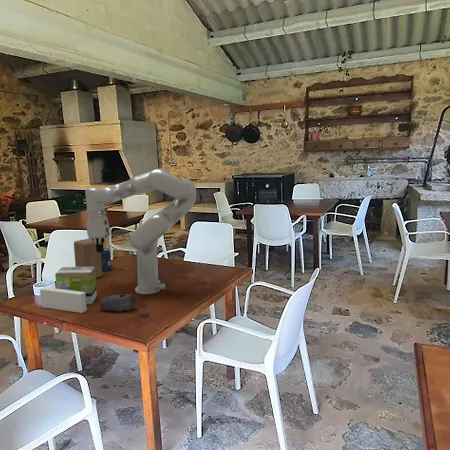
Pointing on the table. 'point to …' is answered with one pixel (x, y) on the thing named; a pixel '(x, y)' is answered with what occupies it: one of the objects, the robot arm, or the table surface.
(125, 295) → the perforated stone tool
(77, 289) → the tea box
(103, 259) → the soda can
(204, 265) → the table surface
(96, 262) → the wooden block
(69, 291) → the plank
